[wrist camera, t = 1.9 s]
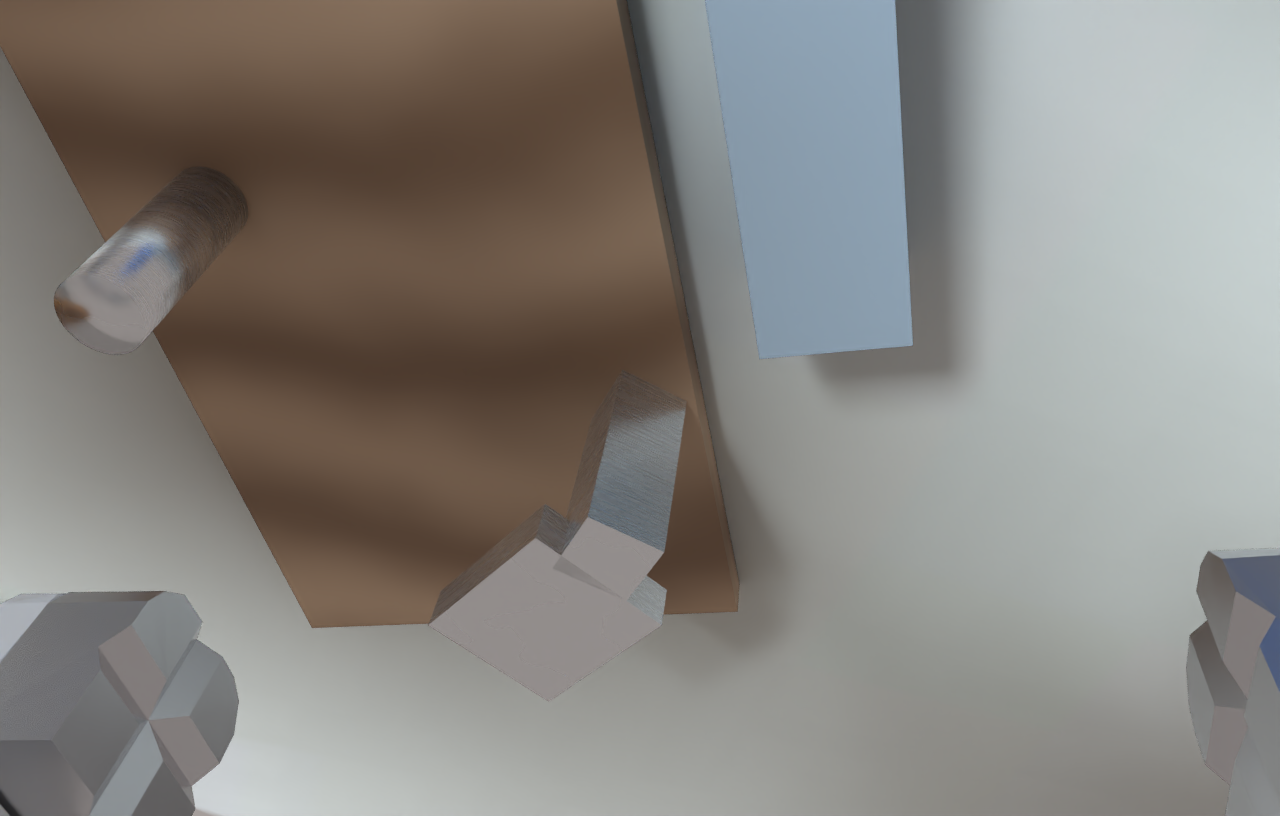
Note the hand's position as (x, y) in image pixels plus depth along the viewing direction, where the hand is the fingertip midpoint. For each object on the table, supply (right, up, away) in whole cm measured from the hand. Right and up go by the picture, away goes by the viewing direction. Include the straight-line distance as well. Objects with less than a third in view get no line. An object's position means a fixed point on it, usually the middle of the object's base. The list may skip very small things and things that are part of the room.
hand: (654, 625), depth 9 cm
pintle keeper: (-5, +3, +22) cm, 22 cm away
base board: (-6, +4, +22) cm, 23 cm away
